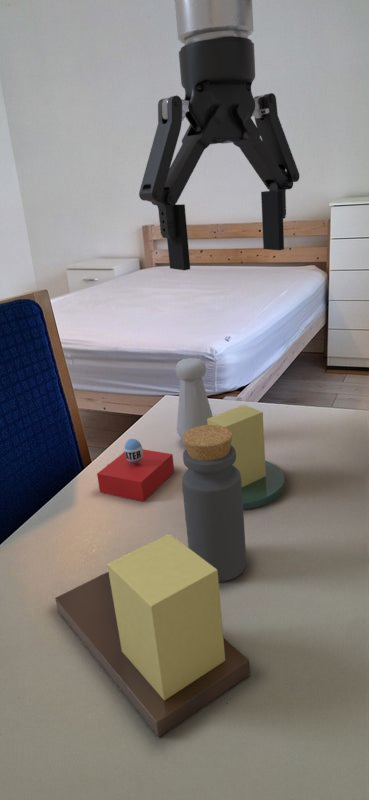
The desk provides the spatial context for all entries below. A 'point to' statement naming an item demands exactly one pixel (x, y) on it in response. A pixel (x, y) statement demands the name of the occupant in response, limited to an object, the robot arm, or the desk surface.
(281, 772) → the desk surface
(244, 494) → the plate
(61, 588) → the desk surface
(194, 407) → the salt shaker
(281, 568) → the desk surface
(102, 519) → the desk surface
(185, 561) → the butter block
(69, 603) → the butter board
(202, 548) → the bottle
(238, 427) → the yellow rectangular block
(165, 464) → the red box
